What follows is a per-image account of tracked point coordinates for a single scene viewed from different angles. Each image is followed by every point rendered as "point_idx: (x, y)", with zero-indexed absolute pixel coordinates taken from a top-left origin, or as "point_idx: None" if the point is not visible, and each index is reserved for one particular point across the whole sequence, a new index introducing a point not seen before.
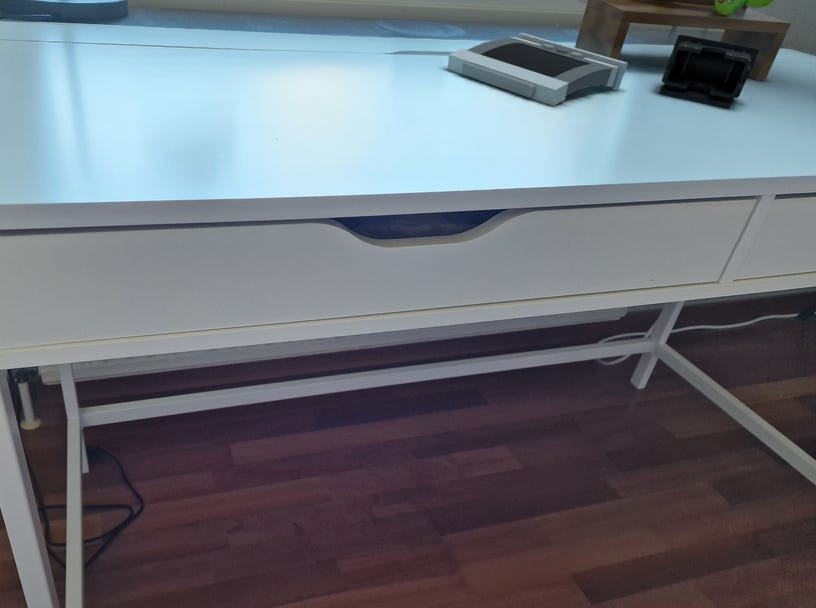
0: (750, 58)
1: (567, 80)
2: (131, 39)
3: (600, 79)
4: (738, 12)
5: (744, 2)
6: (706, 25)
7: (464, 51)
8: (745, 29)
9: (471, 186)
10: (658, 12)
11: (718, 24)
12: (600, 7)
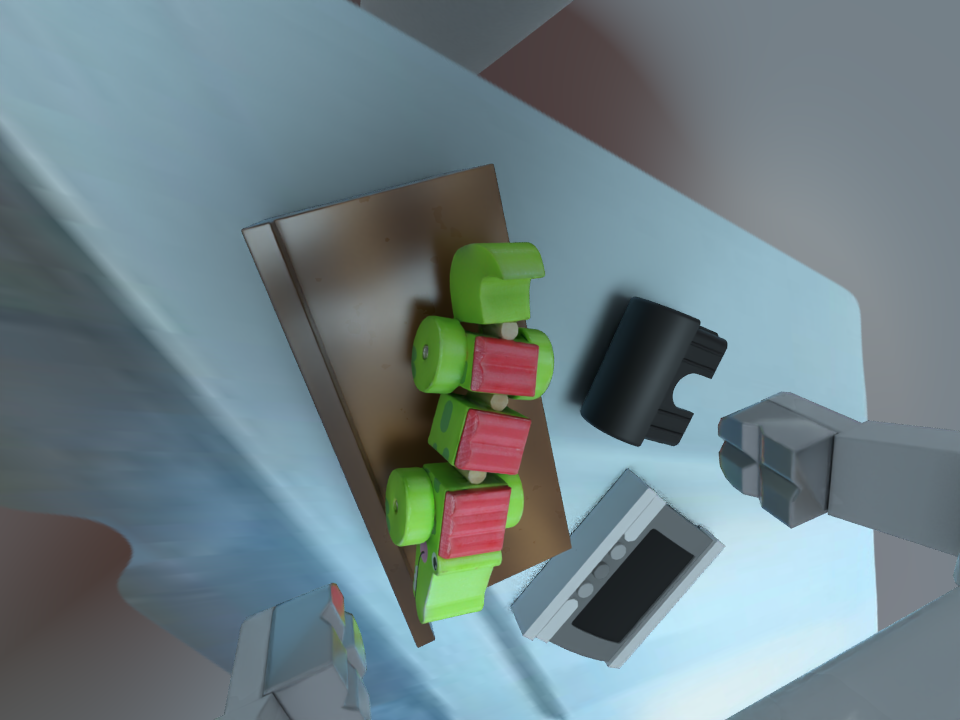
0: (708, 334)
1: (705, 542)
2: None
3: (668, 505)
4: (414, 289)
5: (540, 331)
6: None
7: (616, 660)
8: None
9: (870, 554)
10: (555, 491)
11: None
12: None
